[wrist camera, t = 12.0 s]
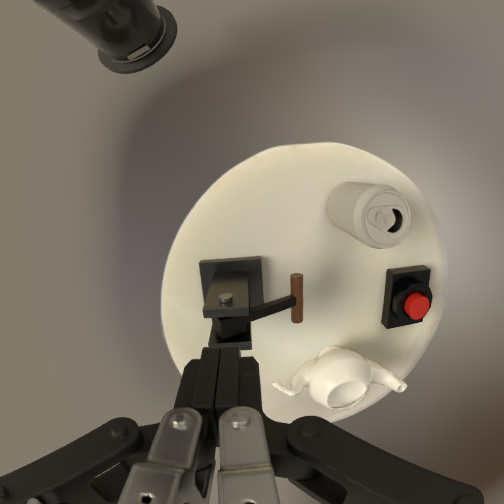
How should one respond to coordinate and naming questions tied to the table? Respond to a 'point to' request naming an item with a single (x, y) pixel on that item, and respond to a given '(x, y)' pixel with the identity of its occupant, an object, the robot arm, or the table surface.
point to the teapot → (340, 378)
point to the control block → (404, 294)
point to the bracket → (231, 294)
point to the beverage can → (370, 213)
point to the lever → (264, 311)
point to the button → (416, 305)
